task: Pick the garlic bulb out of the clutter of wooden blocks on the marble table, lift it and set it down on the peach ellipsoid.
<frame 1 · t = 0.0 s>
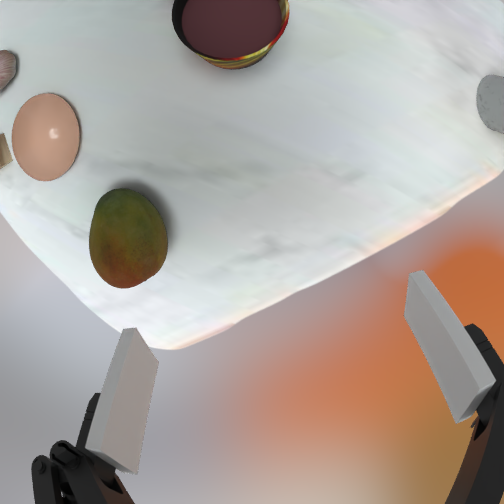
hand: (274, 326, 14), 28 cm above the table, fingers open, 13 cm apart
mug: (217, 29, 28), on the table
garlic bulb: (5, 71, 27), on the table
grey concrete cylinder: (494, 102, 31), on the table
fruit: (135, 221, 41), on the table
peach ellipsoid: (46, 136, 33), on the table
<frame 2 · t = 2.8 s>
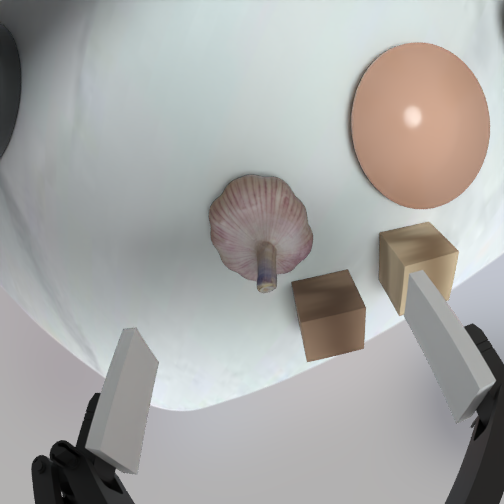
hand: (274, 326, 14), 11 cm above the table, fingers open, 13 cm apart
oak block: (403, 250, 25), on the table
garlic bulb: (257, 216, 23), on the table
peach ellipsoid: (424, 125, 19), on the table
walnut block: (322, 296, 27), on the table
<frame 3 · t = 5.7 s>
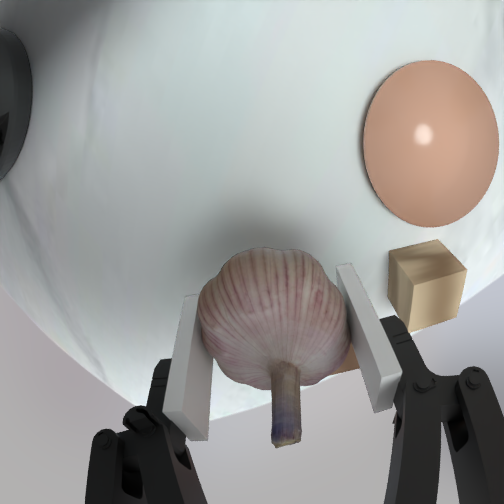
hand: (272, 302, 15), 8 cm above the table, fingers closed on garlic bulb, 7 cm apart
oak block: (412, 268, 24), on the table
garlic bulb: (269, 295, 16), point 8 cm above the table, touching gripper
peach ellipsoid: (434, 143, 19), on the table
walnut block: (331, 313, 27), on the table
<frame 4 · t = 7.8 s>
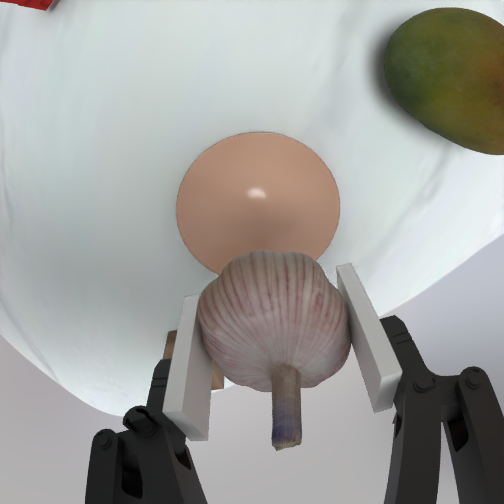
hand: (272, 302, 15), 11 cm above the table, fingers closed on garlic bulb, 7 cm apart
garlic bulb: (270, 298, 16), point 11 cm above the table, touching gripper
fruit: (432, 78, 19), on the table
peach ellipsoid: (258, 209, 25), on the table
walnut block: (197, 342, 33), on the table
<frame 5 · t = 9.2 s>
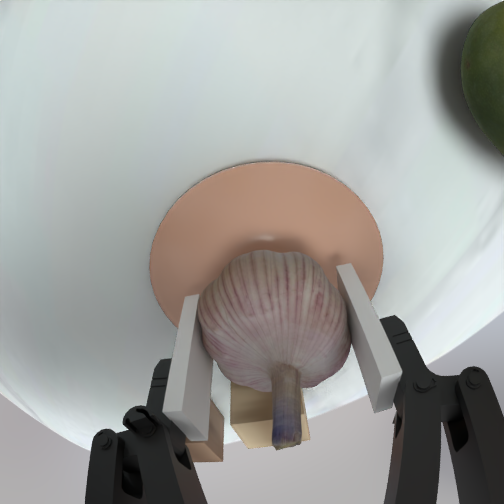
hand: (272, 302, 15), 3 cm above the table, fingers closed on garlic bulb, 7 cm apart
oak block: (269, 381, 23), on the table
garlic bulb: (270, 297, 16), point 2 cm above the table, touching gripper
fruit: (501, 89, 11), on the table
peach ellipsoid: (267, 270, 17), on the table
walnut block: (191, 407, 26), on the table
when the fingers open (2 cm above the table, at t = 10.0 s): garlic bulb stays where it is, resting on peach ellipsoid.
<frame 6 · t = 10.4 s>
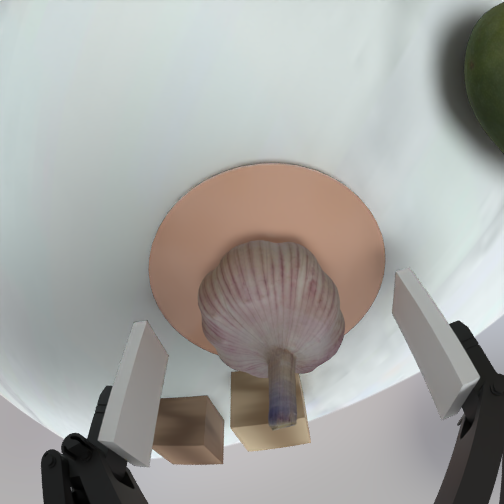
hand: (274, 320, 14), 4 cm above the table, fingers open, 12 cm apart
oak block: (269, 383, 23), on the table
garlic bulb: (267, 287, 16), point 1 cm above the table, touching peach ellipsoid
peach ellipsoid: (268, 273, 17), on the table
walnut block: (191, 409, 25), on the table
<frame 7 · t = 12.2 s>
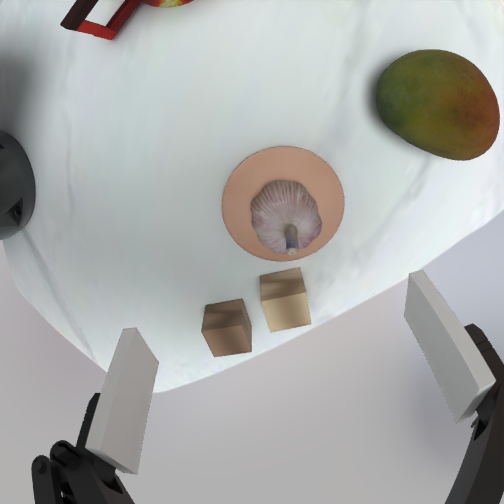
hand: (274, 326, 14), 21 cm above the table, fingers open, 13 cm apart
oak block: (283, 287, 38), on the table
garlic bulb: (282, 209, 32), point 1 cm above the table, touching peach ellipsoid
fruit: (415, 102, 26), on the table
peach ellipsoid: (283, 204, 32), on the table
walnut block: (229, 315, 41), on the table
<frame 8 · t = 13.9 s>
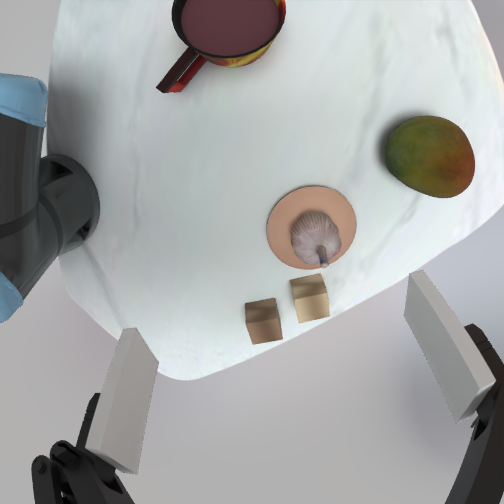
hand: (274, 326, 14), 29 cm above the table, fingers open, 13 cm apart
oak block: (307, 288, 49), on the table
mug: (228, 47, 30), on the table
garlic bulb: (311, 231, 42), point 1 cm above the table, touching peach ellipsoid
fruit: (412, 149, 37), on the table
peach ellipsoid: (311, 227, 43), on the table
walnut block: (263, 311, 51), on the table
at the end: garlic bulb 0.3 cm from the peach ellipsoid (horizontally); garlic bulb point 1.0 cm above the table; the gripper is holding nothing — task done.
